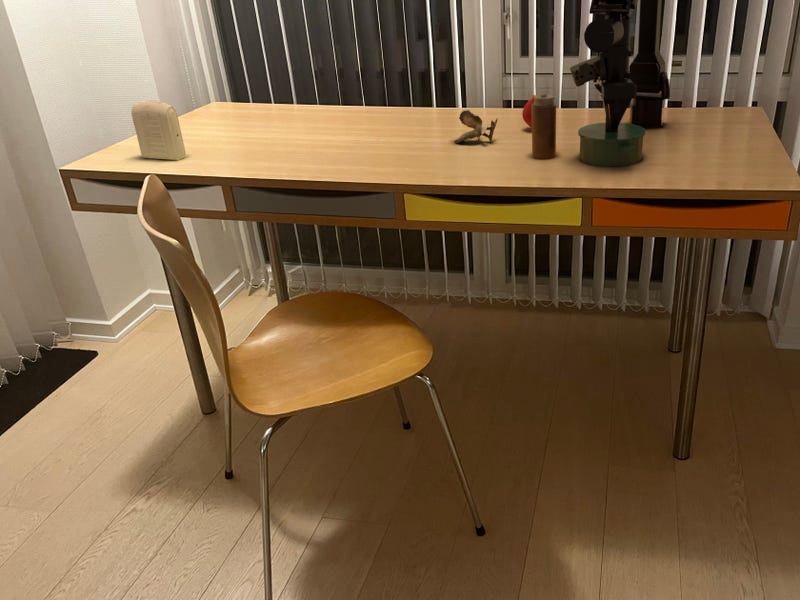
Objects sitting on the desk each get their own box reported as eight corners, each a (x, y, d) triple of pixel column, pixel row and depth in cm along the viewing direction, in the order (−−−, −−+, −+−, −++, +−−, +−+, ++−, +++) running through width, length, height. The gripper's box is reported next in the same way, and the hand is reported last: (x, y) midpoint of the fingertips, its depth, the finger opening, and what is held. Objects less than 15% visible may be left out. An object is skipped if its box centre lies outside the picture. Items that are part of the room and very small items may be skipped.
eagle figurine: (497, 130, 183) (459, 123, 184) (498, 108, 177) (459, 100, 178) (489, 156, 180) (451, 148, 181) (489, 134, 174) (450, 126, 175)
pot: (620, 143, 174) (622, 120, 172) (658, 165, 159) (659, 140, 157) (566, 149, 172) (566, 126, 169) (598, 173, 157) (599, 147, 154)
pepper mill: (554, 151, 171) (555, 90, 165) (556, 158, 167) (557, 95, 160) (531, 152, 171) (530, 91, 165) (532, 159, 167) (532, 96, 160)
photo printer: (189, 155, 181) (177, 99, 174) (178, 161, 177) (164, 104, 171) (151, 153, 183) (137, 98, 177) (139, 159, 180) (124, 102, 174)
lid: (628, 124, 170) (629, 95, 167) (656, 140, 159) (659, 109, 156) (568, 131, 168) (568, 102, 165) (592, 148, 156) (593, 116, 153)
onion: (547, 126, 190) (547, 91, 186) (547, 132, 185) (547, 97, 181) (523, 126, 190) (522, 92, 186) (522, 133, 185) (521, 97, 181)
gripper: (568, 38, 163) (567, 116, 171) (578, 54, 147) (577, 139, 154) (623, 35, 163) (619, 114, 170) (639, 51, 146) (634, 137, 154)
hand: (611, 125), depth 162 cm, fingers open, 6 cm apart
